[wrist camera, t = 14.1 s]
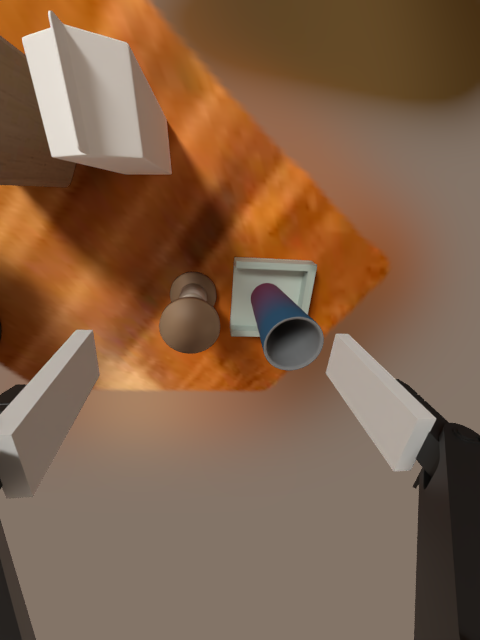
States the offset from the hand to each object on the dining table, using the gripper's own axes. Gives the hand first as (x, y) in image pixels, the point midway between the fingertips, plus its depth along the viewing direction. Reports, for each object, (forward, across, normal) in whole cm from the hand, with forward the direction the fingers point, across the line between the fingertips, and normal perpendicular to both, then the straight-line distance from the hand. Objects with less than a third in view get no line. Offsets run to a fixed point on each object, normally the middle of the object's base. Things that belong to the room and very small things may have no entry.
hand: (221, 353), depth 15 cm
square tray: (+28, +10, -6) cm, 30 cm away
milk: (+28, -8, +12) cm, 32 cm away
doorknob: (+28, -2, -6) cm, 29 cm away
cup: (+27, +9, -6) cm, 30 cm away
